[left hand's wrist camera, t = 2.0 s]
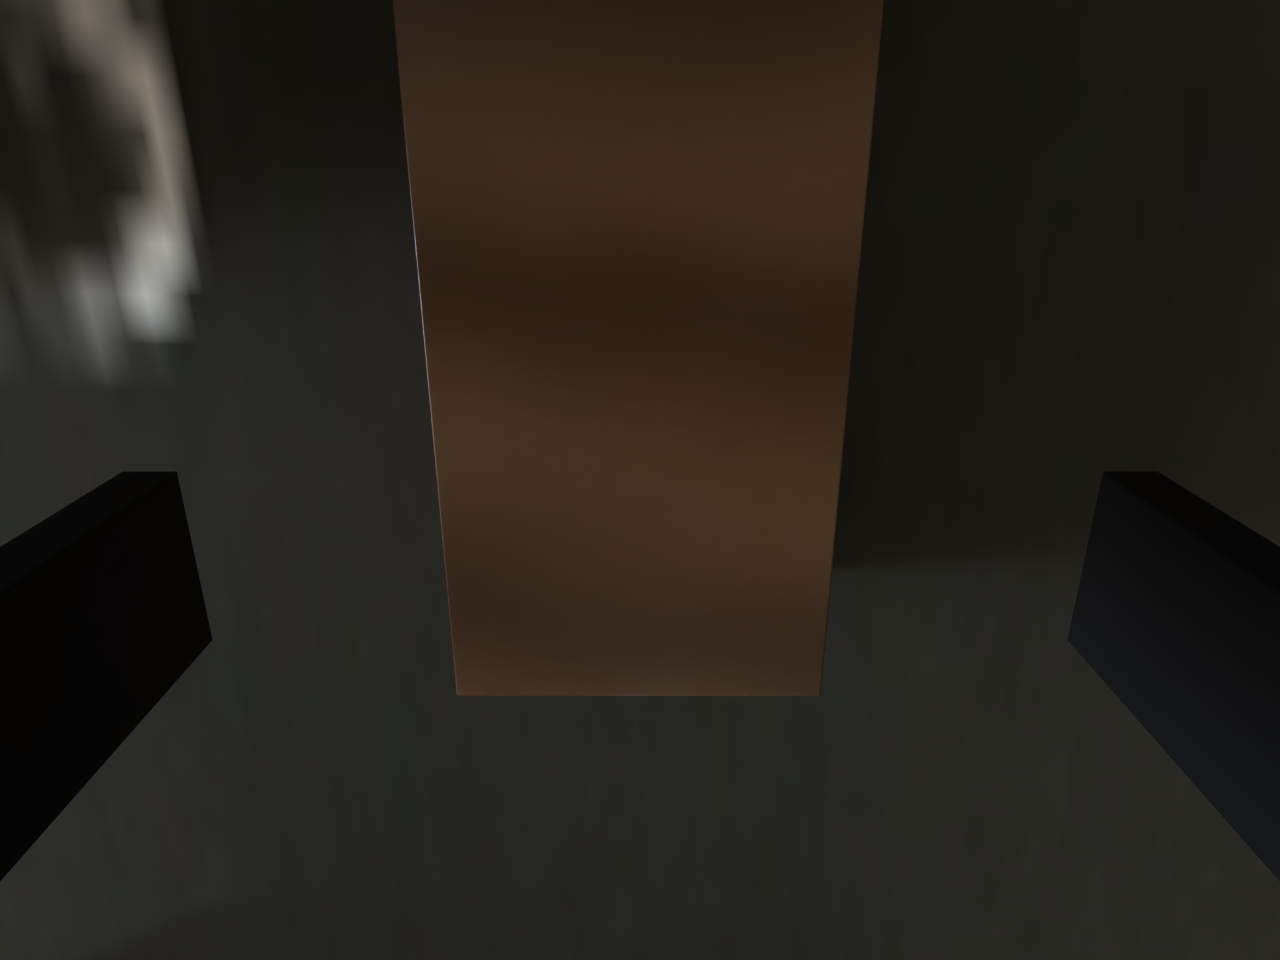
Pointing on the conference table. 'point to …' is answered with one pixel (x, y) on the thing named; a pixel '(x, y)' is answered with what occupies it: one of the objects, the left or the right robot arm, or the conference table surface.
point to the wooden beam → (638, 330)
